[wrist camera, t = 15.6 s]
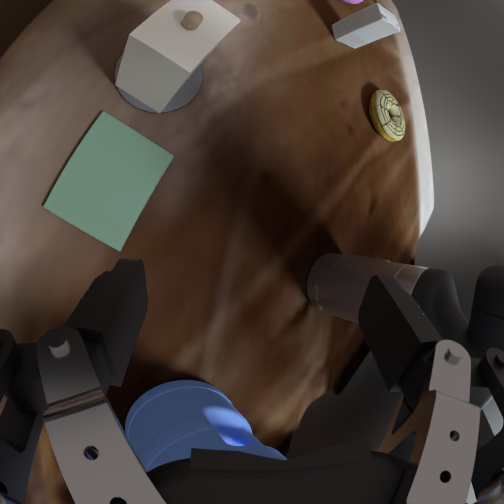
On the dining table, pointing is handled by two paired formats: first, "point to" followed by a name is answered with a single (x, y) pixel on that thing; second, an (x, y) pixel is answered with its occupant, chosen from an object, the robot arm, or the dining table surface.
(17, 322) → the dining table surface
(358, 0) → the teapot
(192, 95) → the slate coaster
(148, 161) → the felt mat
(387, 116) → the decorated donut
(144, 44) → the ceramic cover
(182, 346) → the dining table surface
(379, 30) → the skincare box
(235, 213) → the dining table surface
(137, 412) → the water jug
